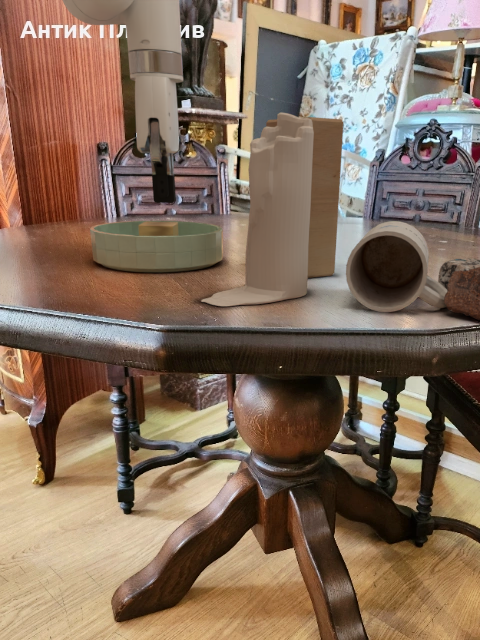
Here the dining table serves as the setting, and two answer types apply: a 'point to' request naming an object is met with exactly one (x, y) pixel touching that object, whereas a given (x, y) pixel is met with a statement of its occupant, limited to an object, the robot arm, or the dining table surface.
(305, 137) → the candle
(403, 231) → the mug
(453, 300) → the stone
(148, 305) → the dining table surface
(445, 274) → the rock
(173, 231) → the block
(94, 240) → the bowl
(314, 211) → the decorative block
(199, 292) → the dining table surface
